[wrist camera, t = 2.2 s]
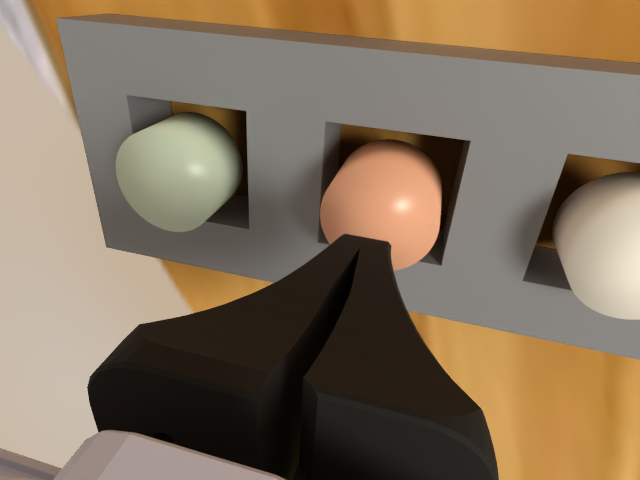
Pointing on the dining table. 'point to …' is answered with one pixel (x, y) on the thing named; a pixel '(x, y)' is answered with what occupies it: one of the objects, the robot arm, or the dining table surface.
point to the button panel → (324, 145)
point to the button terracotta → (386, 199)
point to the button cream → (603, 244)
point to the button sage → (179, 171)
